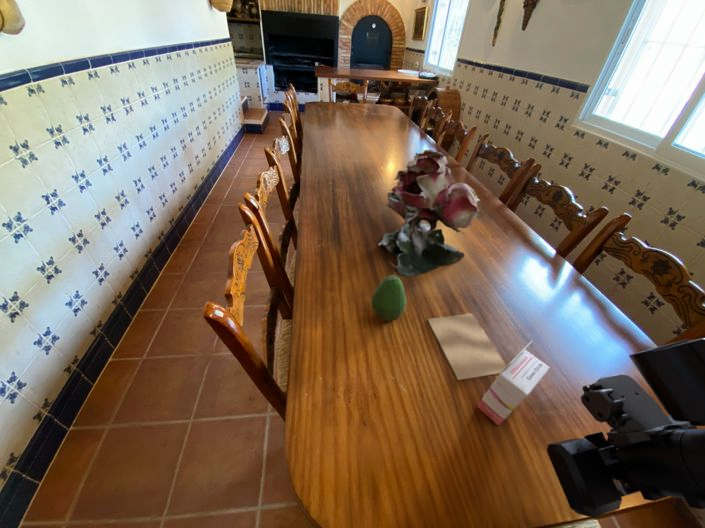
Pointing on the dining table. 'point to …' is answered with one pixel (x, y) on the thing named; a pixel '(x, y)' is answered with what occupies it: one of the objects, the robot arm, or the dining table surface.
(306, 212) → the dining table surface
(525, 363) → the ink cartridge box
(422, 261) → the rose bouquet
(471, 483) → the dining table surface
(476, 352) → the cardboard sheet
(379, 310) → the avocado
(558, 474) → the robot arm
